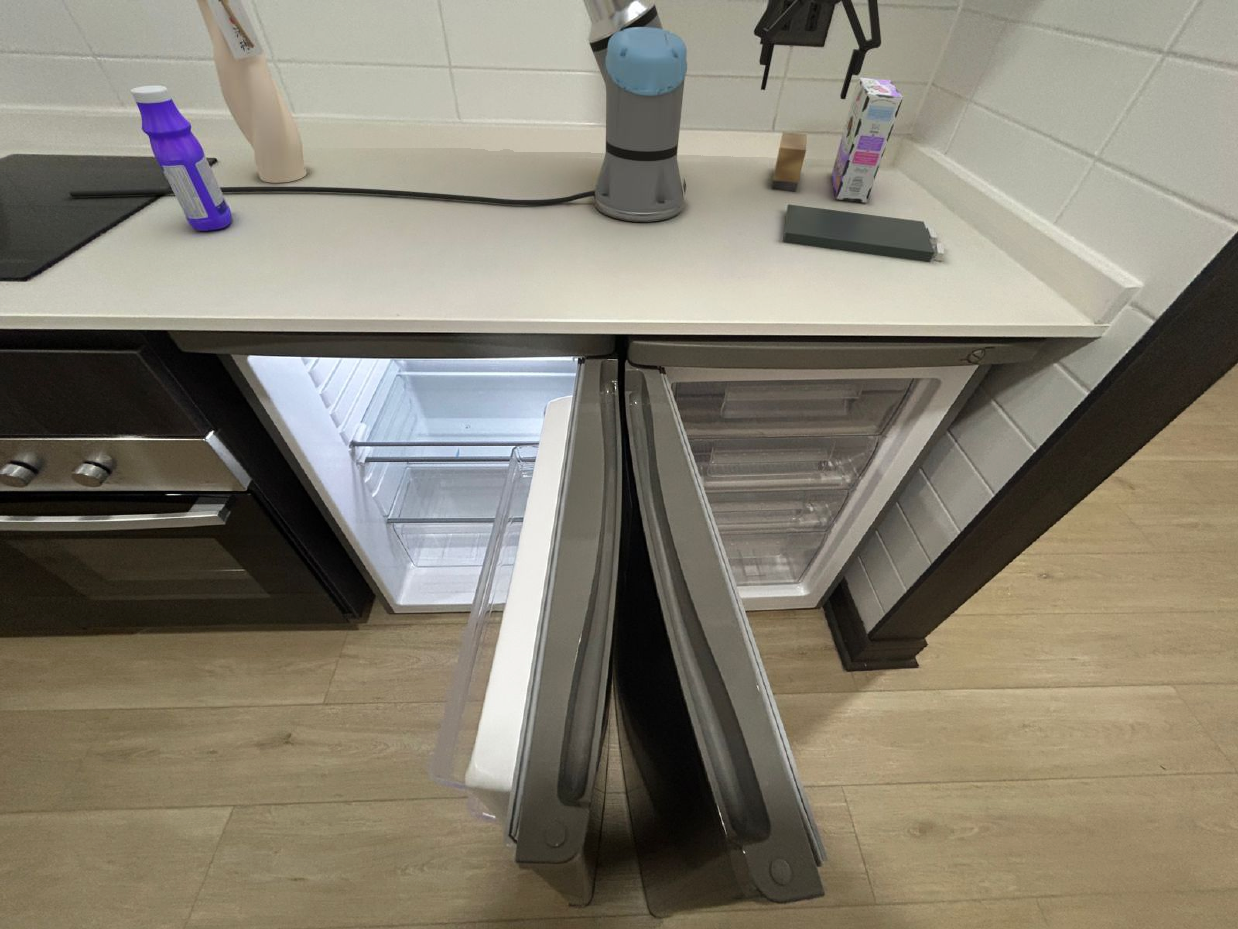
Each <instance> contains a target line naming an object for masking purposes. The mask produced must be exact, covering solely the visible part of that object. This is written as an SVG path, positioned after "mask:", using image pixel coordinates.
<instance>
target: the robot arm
mask: <svg viewBox="0 0 1238 929" xmlns="http://www.w3.org/2000/svg"><path fill="white" fill-rule="evenodd" d="M781 1H782V0H770V2H769V4H768V5H767V7H766V9H765V11H764V12H763V14H762V15H761V17H760V19H759V21H758V22H757V24H756V25H755V27H754V29H753V34H754V36H756V37H758V38H760V40H761V41H762V44H761V51H760V55H759V65H760V66H764V70H763V74H762V80H761V85H760V90H761V91H766V88H767V84H768V79H769V73H770V69H771V63H772V60H773V59H772V58H773V54H774V50H775V49H774V48H775V44H776V40H772V39H773V38H774V37H775V36H776V35H777V34H778V32H780V31H781V29H783V27H785V25H786V24H787V23H788V22H789V21H790V20H791V19H792V18H793V17H794V16H795V15H796V14H797V13H798V11H799V10H800V9H802V7H803V6H804V5H806V4H807V2H808V1H809V0H795V1H793V3H792V4H791V5H789V7H788V8H787V9H786V10H785V11H784V12H783V13H782V14H781V15H780V17H779V18H778V19H777V20H776V21H775V22H774V23H773V24H772V25H771V26H770V27H769V28H765V27H766V25H767V24H768V22H769V20H770V19H771V18H772V15H773V14H774V13H775V11H776V9H777V8H778V5H779V4H780V2H781ZM582 2H583V5H584V7H585V10H586V13H587V15H588V18H589V21H590V29H589V33H588V37H587V41H588V43H589V46H590V49H591V52H592V54H593V56H594V59H595V61H596V64H597V67H598V69H599V72H600V74H601V76H602V79H603V82H604V86H605V99H606V100H605V152H604V158H603V160H602V161H603V162H602V163H601V164H602V165H601V167H600V171H599V174H598V177H597V181H596V184H595V188H594V190H590V191H589V190H588V191H585V192H580V193H576V194H572V195H569V196H564V197H563V196H562V197H557V198H546V199H545V198H543V199H511V198H510V199H509V198H508V199H507V198H497V197H487V196H486V197H485V196H476V195H462V194H452V193H451V194H449V193H436V192H425V191H424V192H423V191H410V190H395V189H379V188H358V187H337V186H336V187H334V186H332V187H330V186H219V187H220V189H221V191H222V193H225V194H226V193H333V194H357V195H358V194H360V195H378V196H379V195H380V196H395V197H396V196H397V197H411V198H425V199H436V200H449V201H462V202H463V201H464V202H475V203H487V204H497V205H509V206H548V205H557V204H565V203H571V202H574V201H577V200H582V199H585V198H590V197H593V204H594V207H595V208H596V209H597V210H598V211H599V212H600V213H602V214H603V215H606V216H608V217H610V218H613V219H617V220H622V221H627V222H634V223H635V222H636V223H650V222H660V221H664V220H668V219H671V218H674V217H675V216H677V215H679V214H680V213H681V212H682V210H683V207H684V194H686V193H687V192H686V191H687V182H686V180H685V178H683V183H682V179H681V173H680V169H679V168H680V167H679V162H678V149H679V140H680V139H679V138H680V132H681V131H680V129H681V119H682V109H683V98H684V89H685V81H686V80H685V79H686V76H687V71H688V61H687V58H688V57H687V56H688V49H687V45H686V42H685V41H684V39H683V38H681V36H679V35H678V34H676V33H674V32H670V31H669V30H666V29H664V28H663V26H662V23H661V22H662V21H661V19H660V16H659V13H658V10H657V7H656V4H655V1H654V0H582ZM811 2H813V4H819V5H822V4H827V5H829V6H835V5H838V4H839V3H842V6H843V8H844V11H845V14H846V16H847V19H848V22H849V25H850V27H851V29H852V32H853V35H854V37H855V40H856V43H857V45H858V48H857V49H856V48H853V49H852V53H851V57H850V60H849V62H848V63H849V64H848V66H847V70H846V74H845V78H844V80H843V85H842V87H841V92H840V94H839V96H840V100H846V98H847V95H848V91H849V88H850V85H851V82H852V78H853V76H859V75H860V73H861V71H862V68H863V65H864V61H865V58H866V54H867V53H868V51H870V50H873V49H878V48H880V47H881V46H882V35H881V26H880V25H881V24H880V14H879V4H878V0H867V7H868V20H869V28H870V36H871V38H868V39H867V38H866V36H865V33H864V31H863V28H862V25H861V21H860V20H859V17H858V14H857V12H856V9H855V6H854V3H853V1H852V0H811ZM69 195H70V196H71V197H72V198H82V197H84V198H86V197H87V198H89V197H120V196H121V197H123V196H151V195H152V196H155V195H175V194H174V192H173V190H172V188H148V189H147V188H146V189H143V188H142V189H112V190H70V191H69Z"/></svg>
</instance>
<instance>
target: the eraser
mask: <svg viewBox="0 0 1238 929" xmlns="http://www.w3.org/2000/svg"><path fill="white" fill-rule="evenodd" d="M807 140H808V134H806V133H798V132H788V131H782V133H781V139H780V144H779V146H778V152H777V157H776V162H775V165H774V171H773V177H772V182H771V190H779V191H786V192H795V193H796V192H797V189H798V185H799V180H800V177H801V174H802V173H801V172H802V168H803V164H804V161H805V157H806V153H807V143H808V142H807Z"/></svg>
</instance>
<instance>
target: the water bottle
mask: <svg viewBox="0 0 1238 929" xmlns="http://www.w3.org/2000/svg"><path fill="white" fill-rule="evenodd" d="M196 3H197V5H198V9H199V11H200V13H201V16H202V19H203V22H204V25H205V27H206V30H207V32H208V35H209V38H210V40H211V43H212V49H213V50H212V51H213V52H212V53H213V60H214V61H213V62H214V66H215V70H216V75H217V78H218V82H219V83H218V84H219V87H220V92H221V94H222V97H223V100H224V102H225V104H226V106H227V108H228V110H229V113H230V114H231V116H232V118H233V121H235V124H236V125H237V127H238V129H239V130H240V132H241V133H242V135H243V137H244V138H245V139H246V140H247V142H248V144H249V145H250V146H251V147H252V149H253V152H254V155H253V156H254V162H255V165H256V170H257V172H258V176H259V179H260V180H261V181H263V182H266V183H270V184H271V183H274V184H281V183H289V182H294V181H298V180H301V179H303V178H305V176H307V173H308V172H307V169H306V166H305V161H304V151H303V150H304V149H303V142H302V139H301V134H300V132H299V130H298V126H297V124H296V121H295V119H294V117H293V114H292V112H291V110H290V108H289V106H288V105H287V102H286V100H285V98H284V96H283V94H282V92H281V91H280V89H279V88H278V86H277V84H276V82H275V80H274V78H273V77H272V73H271V70H270V68H269V64H268V61H267V58H266V56H265V54H266V53H265V51H264V48H263V47H262V44H261V42H260V40H259V38H258V35H257V33H256V30H255V28H254V27H253V24H252V23H251V20H250V18H249V15H248V14H247V11H246V9H245V6H244V5H243V2H242V0H196Z"/></svg>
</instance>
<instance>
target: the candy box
mask: <svg viewBox="0 0 1238 929" xmlns="http://www.w3.org/2000/svg"><path fill="white" fill-rule="evenodd" d="M903 99H904V96H902V95H901V93H900V92H899V90H898V89H897V88H896V86H895V85H894V83H893V82H892V80H891V79H882V78H872V77H869V78H868V77H858V79H857V82H856V86H855V88H854V93H853V96H852V100H851V103H850V106H849V111H848V114H847V118H846V122H845V125H844V128H843V131H842V136H841V139H840V143H839V146H838V151H837V153H836V157H835V161H834V164H833V168H832V171H831V175H830V177H831V182H832V187H833V192H834V196H835V200H840V201H849V202H857V203H863V204H866V203H868V201H869V197H870V195H871V192H872V189H873V186H874V183H875V179H876V177H877V174H878V171H879V169H880V165H881V162H882V160H883V156H884V154H885V151H886V148H887V144H888V143H889V140H890V137H891V134H892V130H893V128H894V125H895V123H896V121H897V120H896V119H897V117H898V114H899V110H900V108H901V105H902V103H903Z"/></svg>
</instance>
